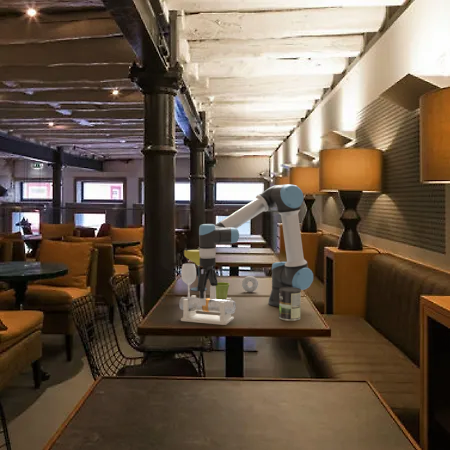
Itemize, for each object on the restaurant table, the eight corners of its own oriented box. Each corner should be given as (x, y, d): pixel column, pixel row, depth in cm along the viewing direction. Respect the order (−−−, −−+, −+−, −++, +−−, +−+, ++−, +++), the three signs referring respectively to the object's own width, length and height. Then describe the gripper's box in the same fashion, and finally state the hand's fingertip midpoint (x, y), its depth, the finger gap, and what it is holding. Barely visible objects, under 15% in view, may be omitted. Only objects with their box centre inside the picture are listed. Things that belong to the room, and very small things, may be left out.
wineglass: (184, 304, 263) (184, 265, 262) (178, 301, 271) (178, 263, 270) (199, 302, 267) (199, 264, 266) (192, 299, 275) (192, 262, 274)
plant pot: (230, 297, 283) (230, 282, 282) (229, 300, 273) (229, 285, 273) (214, 296, 284) (214, 282, 283) (212, 300, 274) (212, 284, 274)
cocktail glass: (212, 292, 298) (212, 251, 296) (183, 292, 298) (182, 251, 297) (213, 286, 316) (213, 248, 314) (185, 286, 316) (185, 248, 315)
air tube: (235, 312, 227) (235, 299, 227) (231, 314, 221) (231, 301, 222) (184, 308, 236) (184, 295, 236) (179, 310, 230) (179, 297, 230)
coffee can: (279, 320, 228) (280, 290, 227) (278, 315, 238) (278, 287, 237) (302, 321, 227) (302, 291, 226) (299, 315, 237) (299, 287, 237)
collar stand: (233, 318, 231) (233, 297, 231) (225, 324, 220) (225, 303, 219) (190, 315, 238) (190, 294, 238) (180, 320, 227) (180, 299, 226)
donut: (258, 291, 300) (258, 275, 299) (258, 292, 296) (258, 276, 296) (241, 291, 300) (241, 275, 299) (241, 292, 296) (241, 276, 296)
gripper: (209, 253, 240) (209, 296, 242) (189, 260, 217) (190, 307, 218) (223, 254, 238) (224, 297, 239) (205, 260, 214) (205, 308, 216)
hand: (208, 302), depth 229 cm, fingers open, 13 cm apart
